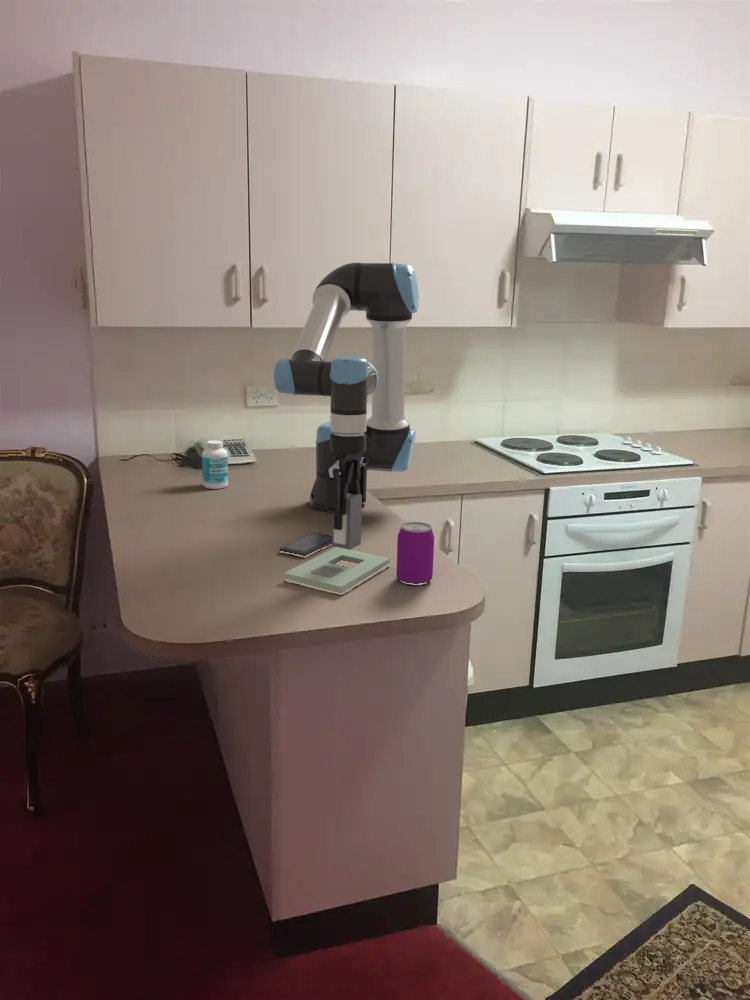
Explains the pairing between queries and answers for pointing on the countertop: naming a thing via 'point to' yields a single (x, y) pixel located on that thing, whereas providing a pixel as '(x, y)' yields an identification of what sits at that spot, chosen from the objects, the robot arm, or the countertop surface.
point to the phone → (308, 544)
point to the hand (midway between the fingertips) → (346, 539)
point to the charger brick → (351, 522)
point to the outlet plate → (337, 569)
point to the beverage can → (415, 553)
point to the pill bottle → (215, 465)
